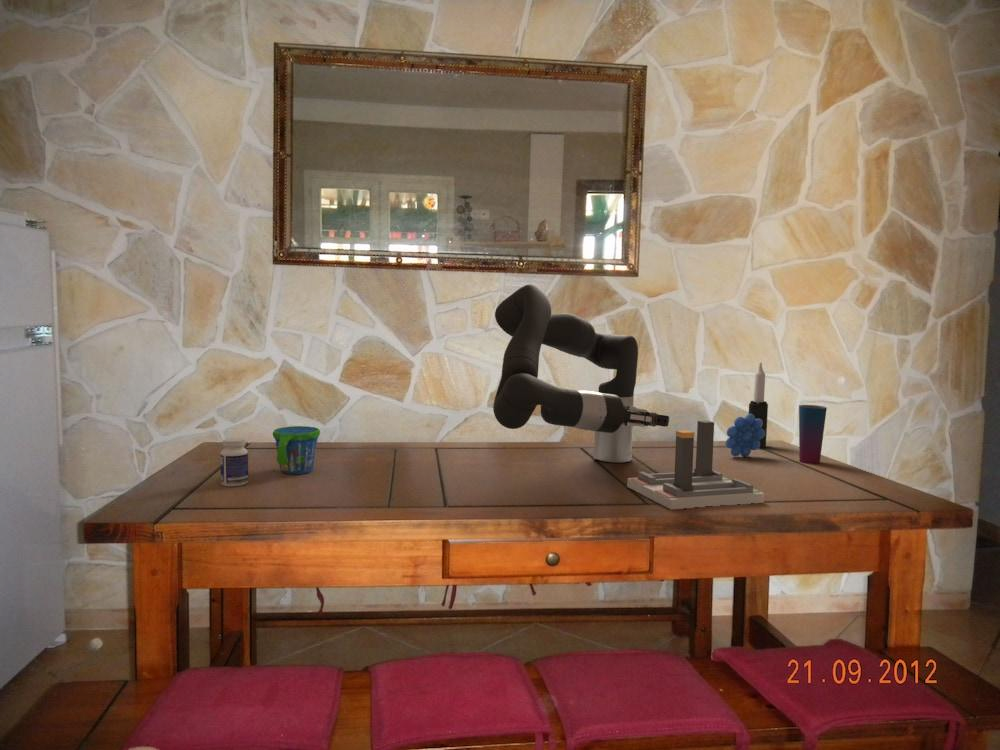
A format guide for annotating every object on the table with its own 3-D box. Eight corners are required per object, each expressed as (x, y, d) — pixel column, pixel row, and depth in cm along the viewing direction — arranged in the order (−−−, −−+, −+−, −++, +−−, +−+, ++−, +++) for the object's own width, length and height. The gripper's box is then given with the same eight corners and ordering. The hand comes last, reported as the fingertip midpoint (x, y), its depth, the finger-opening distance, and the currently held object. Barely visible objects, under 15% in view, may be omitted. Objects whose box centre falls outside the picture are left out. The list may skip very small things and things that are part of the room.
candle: (766, 445, 217) (770, 362, 215) (764, 448, 212) (769, 363, 210) (748, 444, 219) (752, 361, 217) (746, 446, 215) (750, 362, 212)
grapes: (754, 453, 205) (756, 411, 204) (768, 458, 198) (770, 414, 197) (717, 454, 202) (719, 411, 201) (729, 459, 196) (731, 415, 195)
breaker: (680, 494, 148) (682, 433, 147) (672, 490, 151) (674, 430, 150) (692, 493, 149) (695, 432, 148) (685, 489, 152) (687, 430, 151)
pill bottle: (253, 482, 161) (253, 438, 160) (236, 488, 156) (236, 442, 155) (232, 479, 163) (232, 436, 162) (215, 485, 158) (214, 440, 157)
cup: (826, 465, 190) (829, 408, 189) (798, 463, 192) (801, 407, 190) (820, 460, 197) (823, 405, 196) (793, 458, 198) (796, 404, 197)
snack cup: (299, 480, 163) (298, 436, 162) (258, 477, 166) (257, 433, 165) (332, 466, 178) (332, 426, 177) (295, 463, 181) (294, 423, 180)
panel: (670, 509, 145) (673, 435, 144) (627, 486, 163) (629, 421, 162) (764, 502, 151) (767, 432, 150) (712, 481, 170) (714, 418, 168)
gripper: (573, 427, 145) (644, 435, 152) (609, 434, 133) (685, 443, 140) (579, 390, 145) (649, 400, 152) (615, 394, 133) (690, 405, 140)
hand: (666, 421), depth 146 cm, fingers closed
